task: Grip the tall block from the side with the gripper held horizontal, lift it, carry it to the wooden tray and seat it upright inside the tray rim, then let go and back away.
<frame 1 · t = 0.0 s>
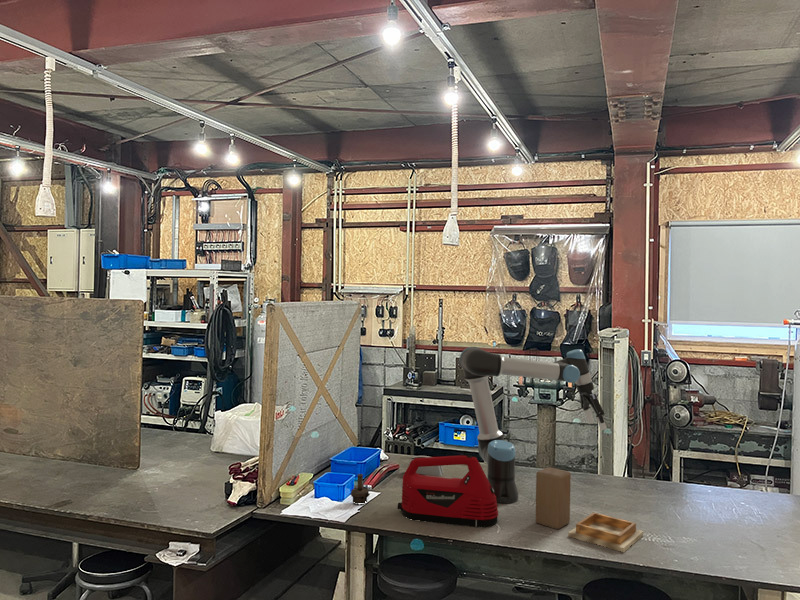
hand: (597, 426, 275), 28 cm above the table, tool tilted 20°, fingers open, 13 cm apart
industrial component: (358, 503, 247), on the table
power tool: (447, 517, 233), on the table
block: (552, 523, 228), on the table
wooden tray: (605, 535, 217), on the table
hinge: (425, 474, 290), on the table
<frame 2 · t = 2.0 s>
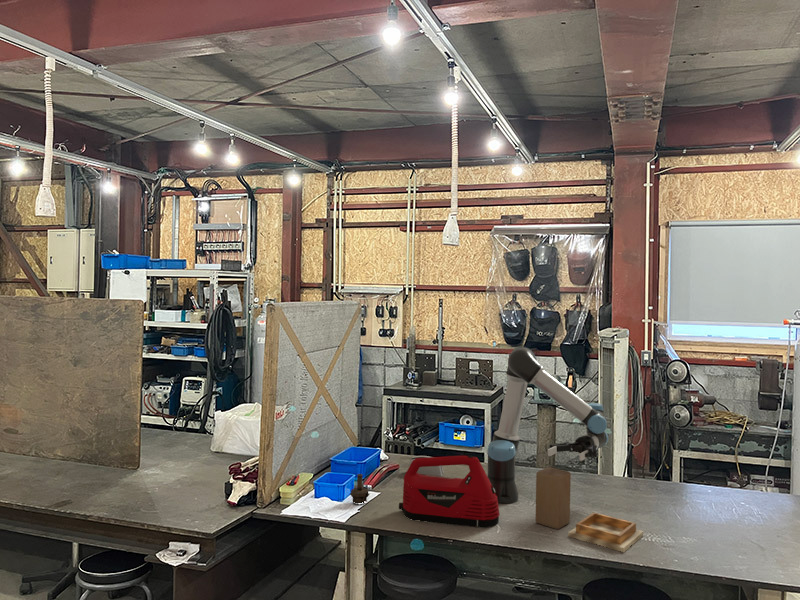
hand: (564, 455, 236), 24 cm above the table, tool horizontal, fingers open, 13 cm apart
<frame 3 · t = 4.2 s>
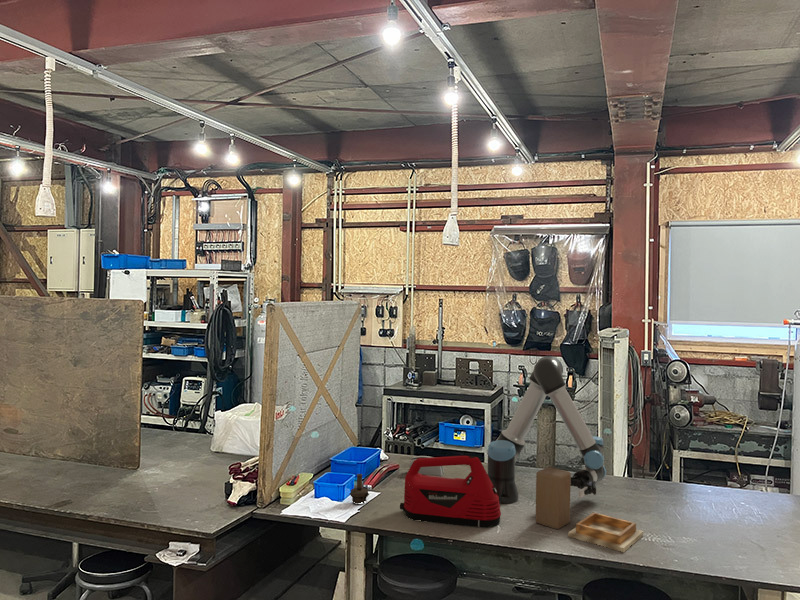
hand: (563, 490, 234), 11 cm above the table, tool horizontal, fingers open, 13 cm apart
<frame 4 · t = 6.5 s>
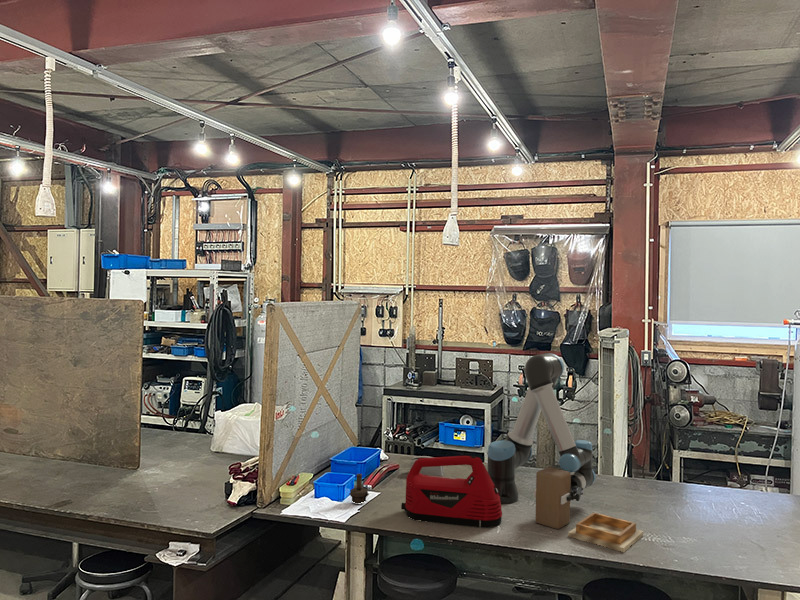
hand: (548, 497, 225), 11 cm above the table, tool horizontal, fingers closed on block, 10 cm apart
block: (552, 523, 228), on the table, touching gripper
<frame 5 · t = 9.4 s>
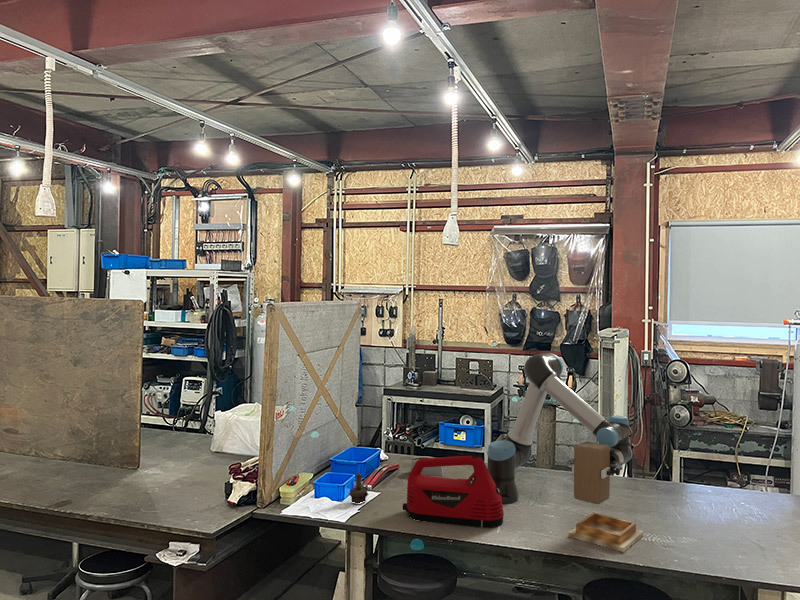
hand: (587, 471, 217), 23 cm above the table, tool horizontal, fingers closed on block, 10 cm apart
block: (591, 499, 220), point 12 cm above the table, touching gripper
when the fingers open (14 cm above the table, at t = 12.3 s): block drops 1 cm, resting on wooden tray.
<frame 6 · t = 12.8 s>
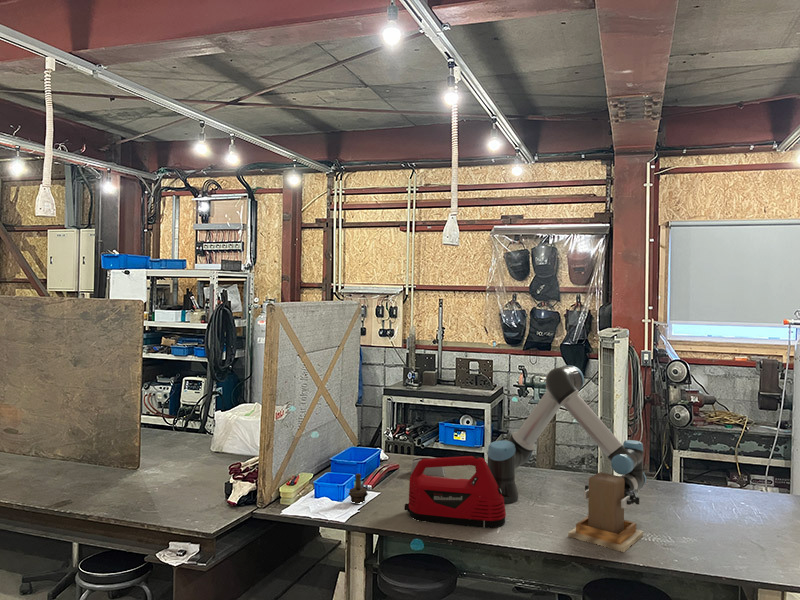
hand: (603, 499, 214), 14 cm above the table, tool horizontal, fingers open, 13 cm apart
block: (605, 532, 217), point 1 cm above the table, touching wooden tray
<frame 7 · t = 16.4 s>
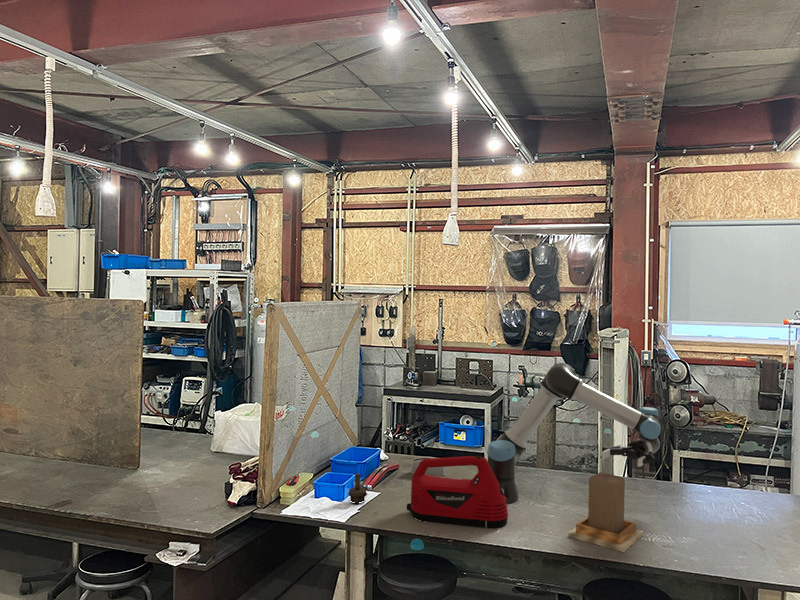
hand: (620, 459, 226), 26 cm above the table, tool horizontal, fingers open, 13 cm apart
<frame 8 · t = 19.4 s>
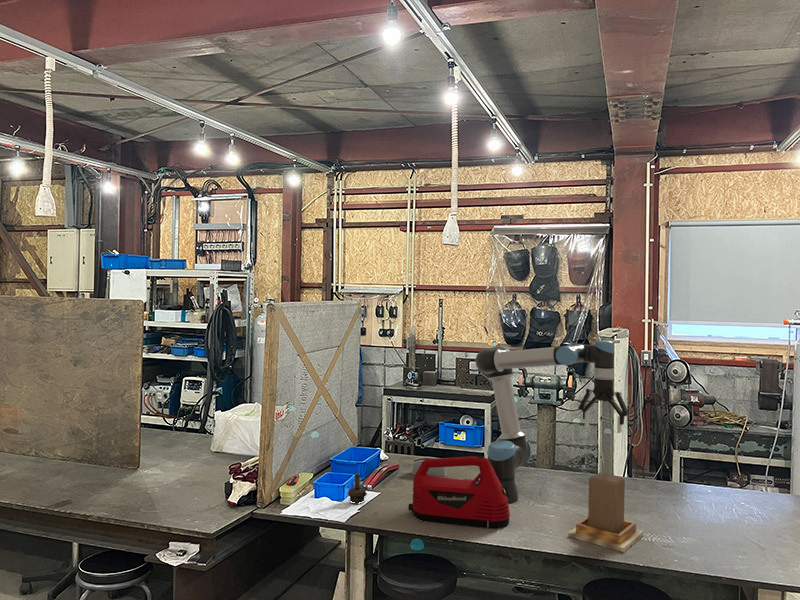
hand: (602, 429, 244), 33 cm above the table, tool pointing down, fingers open, 13 cm apart
at the end: block 0.1 cm off-centre on the wooden tray, point 1.3 cm above the wooden tray's base; block tilted 0°; the gripper is holding nothing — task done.
